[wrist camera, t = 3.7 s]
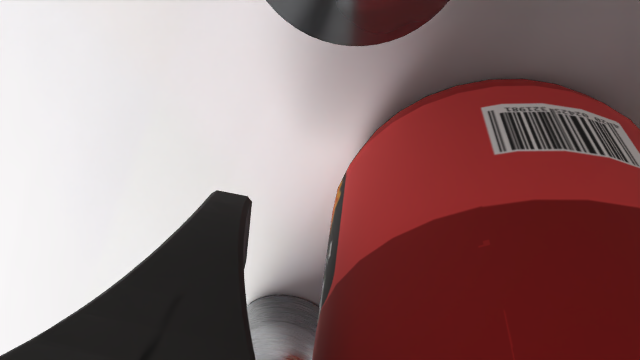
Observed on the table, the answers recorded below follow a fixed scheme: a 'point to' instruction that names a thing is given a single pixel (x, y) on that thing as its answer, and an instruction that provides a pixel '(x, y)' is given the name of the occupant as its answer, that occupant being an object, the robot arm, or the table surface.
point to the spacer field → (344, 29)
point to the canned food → (488, 232)
